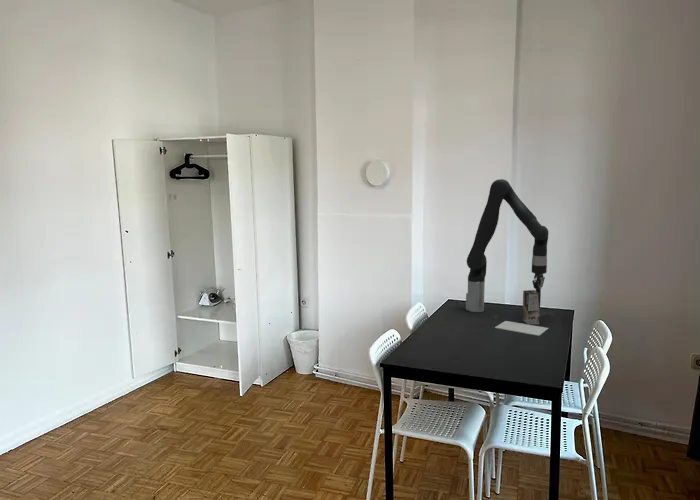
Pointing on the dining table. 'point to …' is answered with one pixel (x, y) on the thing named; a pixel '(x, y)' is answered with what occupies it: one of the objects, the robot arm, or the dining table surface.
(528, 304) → the coffee box
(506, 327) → the grey mat
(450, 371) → the dining table surface
